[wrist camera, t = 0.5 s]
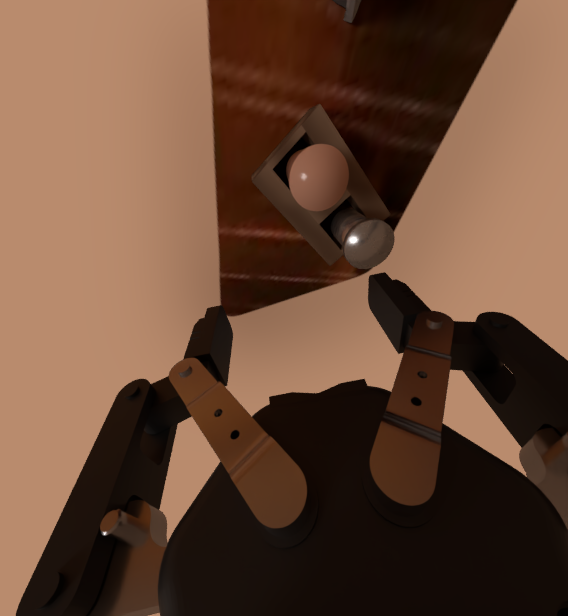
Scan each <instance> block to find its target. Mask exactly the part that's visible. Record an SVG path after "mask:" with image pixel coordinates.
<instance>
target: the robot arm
mask: <svg viewBox="0 0 568 616" xmlns="http://www.w3.org/2000/svg"><path fill="white" fill-rule="evenodd" d="M368 291H369V292H368V302H369V307H370V309H371V311H372V313H373V314H374V316H375V317H376V319H377V321H378V322H379V324H380V325H381V327H382V329H383V330H384V332H385V333H386V335H387V337H388V338H389V340H390V341H391V343H392V344H393V346H394V348H395V349H396V351H397V352H398V353H399V354H400V353H404V354H403V357H402V360H401V364H400V367H399V370H398V373H397V376H396V379H395V382H394V386H393V389H392V392H390V391H388V390H385V389H382V388H378V387H371V386H367V384H366V382H365V379H361V380H356V381H351V382H345V383H341V384H338V385H336V386H334V387H331V388H330V389H327V390H325V391H322V392H320V393H316V394H315V393H294V392H292V393H286V394H281V395H276V396H271V397H269V401H270V404H269V405H267V406H265V407H264V408H262V409H261V410H259V411H258V412H257V413H255V414H254V415H253V416H252V417H251V415H250V414H249V413H248V412H247V411H246V410H245V409H244V408H243V406H242V405H241V404H240V403H239V402H238V401H237V400H236V399H235V398H234V396H233V395H232V394H231V393H230V392H229V391H228V390H227V389H226V387H225V386H227V382H228V373H229V364H230V357H231V348H232V340H233V332H232V328H231V325H230V323H229V320H228V318H227V315H226V313H225V311H224V308H223V307H222V306H221V305H220V306H216V307H211V308H207V311H206V314H205V318H202V319H199V321H198V322H197V323H196V324H195V325H194V328H193V331H192V334H191V337H190V341H189V343H188V346H187V350H186V352H185V356H184V359H183V360H182V361H180V362H178V363H177V364H176V365H174V367H173V368H172V369H171V371H170V372H169V376H168V377H166V378H164V379H161V380H159V381H157V382H155V383H153V384H150V383H149V381H148V380H146V379H138V380H135V381H132V382H131V383H129V384H127V385H126V386H125V387H124V388H123V389H122V390H121V391H120V392H119V393H118V395H117V397H116V399H115V401H114V403H113V405H112V407H111V409H110V411H109V414H108V416H107V418H106V420H105V422H104V424H103V426H102V428H101V431H100V433H99V435H98V437H97V439H96V441H95V443H94V446H93V448H92V450H91V452H90V454H89V456H88V458H87V460H86V462H85V464H84V467H83V469H82V471H81V473H80V475H79V478H78V479H77V482H76V484H75V486H74V488H73V490H72V492H71V495H70V496H69V499H68V501H67V503H66V505H65V507H64V509H63V512H62V513H61V516H60V518H59V520H58V522H57V524H56V526H55V528H54V530H53V533H52V535H51V537H50V539H49V541H48V543H47V545H46V547H45V550H44V552H43V554H42V556H41V558H40V560H39V562H38V564H37V567H36V569H35V571H34V573H33V575H32V578H31V579H30V582H29V584H28V586H27V588H26V590H25V592H24V594H23V597H22V599H21V601H20V603H19V606H18V609H17V612H16V616H148V615H152V614H155V613H160V616H568V361H567V360H566V359H565V358H564V357H562V356H561V355H560V354H559V353H557V352H556V351H555V350H554V349H553V348H551V347H550V346H549V345H547V344H546V343H545V342H544V341H542V340H541V339H540V338H539V337H537V336H536V335H535V334H534V333H532V332H531V331H530V330H529V329H528V328H526V327H525V326H524V325H523V324H521V323H520V322H519V321H518V320H516V319H515V318H513V317H511V316H509V315H506V314H503V313H498V312H485V313H482V314H480V315H479V316H478V317H477V319H476V322H456V321H453V320H452V319H451V317H449V316H447V315H446V314H444V313H441V312H436V311H431V310H430V309H429V308H428V307H427V306H426V305H425V304H424V303H423V301H422V300H421V299H420V298H419V297H418V296H416V295H415V293H414V292H413V291H411V289H410V288H409V287H408V286H407V285H406V284H405V283H403V282H401V281H399V280H392V279H391V278H390V277H389V276H388V275H387V274H386V273H379V274H374V275H370V276H369V289H368ZM504 364H505V365H504ZM507 368H508V369H509V370H510V371H511V372H512V373H513V374H512V373H511V372H510V371H509V370H508V369H507ZM450 370H463V372H464V373H465V374H466V376H467V377H468V378H469V380H470V381H471V382H472V383H473V384H474V386H475V387H476V389H477V390H478V391H479V393H480V394H481V395H482V397H483V398H484V399H485V400H486V402H487V403H488V404H489V406H490V407H491V408H492V409H493V411H494V412H495V413H496V415H497V416H498V417H499V419H500V420H501V421H502V422H503V424H504V425H505V427H506V428H507V429H508V430H509V432H510V433H511V434H512V436H513V437H514V438H515V440H516V441H517V442H518V444H519V445H520V446H521V447H522V449H521V450H520V454H519V458H520V462H521V464H522V466H523V468H524V470H525V472H526V475H527V477H526V476H525V475H523V474H522V473H521V472H519V471H518V470H516V469H514V468H513V467H512V466H510V465H508V464H507V463H505V462H504V461H502V460H500V459H499V458H497V457H496V456H494V455H492V454H491V453H489V452H487V451H486V450H484V449H483V448H481V447H480V446H478V445H476V444H475V443H473V442H472V441H470V440H468V439H467V438H465V437H463V436H462V435H460V434H459V433H457V432H456V431H454V430H452V429H451V428H449V427H448V426H446V425H444V424H443V423H442V422H443V415H444V408H445V401H446V393H447V387H448V379H449V372H450ZM191 416H192V417H193V419H194V420H195V422H196V423H197V425H198V426H199V428H200V430H201V431H202V433H203V434H204V436H205V437H206V439H207V440H208V442H209V444H210V445H211V447H212V448H213V450H214V451H215V453H216V454H217V456H218V458H219V459H220V461H221V462H220V463H219V465H218V466H217V467H216V469H215V470H214V472H213V473H212V475H211V476H210V478H209V479H208V481H207V482H206V484H205V485H204V487H203V488H202V490H201V491H200V493H199V494H198V495H197V497H196V499H195V500H194V501H193V503H192V504H191V506H190V507H189V509H188V510H187V512H186V513H185V515H184V516H183V518H182V519H181V521H180V522H179V524H178V525H177V527H176V528H175V530H174V532H173V533H172V535H171V537H170V539H169V542H168V543H167V536H166V533H167V520H166V517H165V515H164V514H163V512H161V511H160V510H159V509H160V504H161V499H162V494H163V490H164V485H165V480H166V476H167V471H168V466H169V462H170V457H171V452H172V447H173V443H174V438H175V434H176V429H177V424H178V423H180V422H182V421H184V420H185V419H187V418H189V417H191Z"/></svg>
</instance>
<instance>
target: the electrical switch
mask: <svg viewBox="0 0 568 616" xmlns="http://www.w3.org/2000/svg"><path fill="white" fill-rule="evenodd" d="M333 1H334V2H336V3H337V4H339V5H341V6H343V7H345V8H346V13H345V16H344V21H347V22H350V23H352V21H353V20H354V17H355V15H356V13H357V10H358V7H359V5H360V2H361V0H333Z"/></svg>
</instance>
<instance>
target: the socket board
mask: <svg viewBox="0 0 568 616" xmlns="http://www.w3.org/2000/svg"><path fill="white" fill-rule="evenodd" d="M301 137H302V138H303V140H304V141H305V142H306V144H307V145H308V146H311V145H314V144H327V145H331V146H333V147H335V148H336V149H338V150H339V151H340V152H341V153H342V154H343V156H344V157H345V159H346V162H347V165H348V170H349V179H348V185H347V188H346V190H345V192H344V194H343V196H342V197H341V199H340V200H339V201H338V202H337V203H336V204H335V205H333V206H332V207H330V208H328V209H326V210H323V211H310V210H307V209H305V208H303V207H302V206H301V205H299V204H298V203H297V201H296V200H295V199H294V197H293V195H292V193H291V191H290V189H289V188H288V187H287V186H286V184H285V183H284V182H283V181H282V180H281V179H280V177H279V176H278V175H277V174H276V173H275V171H274V170H273V168H274V167H275V166H276V165H277V164H278V162H279V161H280V160H281V159H282V158H283V157H284V156H285V155H286V154H287V152H288V151H289V150H290V149H291V148H292V147H293V146H294V145H295V143H296V142H297V141H298V140H299V139H300V138H301ZM252 182H253V183H254V184H255V185H256V187H257V188H258V189H259V190H260V191H261V192H262V193H263V194H264V195H265V196H266V197H267V198H268V199H269V201H270V202H271V203H272V204H273V205H274V206H275V207H276V208H277V209H278V210H279V211H280V212H281V214H282V215H283V216H284V217H285V218H286V219H287V220H288V221H289V222H290V223H291V224H292V225H293V226H294V228H295V229H296V230H297V231H298V232H299V233H300V234H301V235H302V236H303V237H304V238H305V239H306V240H307V242H308V243H309V244H310V245H311V246H312V247H313V248H314V249H315V250H316V251H317V252H318V253H319V255H320V256H321V257H322V258H323V259H324V260H325V261H326V262H327V263H328V264H329V265H330V266H331V265H332V264H333V263H334V262H335V261H336V260H338V259H339V258H340V257H341V256H342V255H344V254H343V246H342V245H341V244H340V242H339V241H338V240H337V239H336V238H335V237H334V236H333V237H332V238H331V237H330V236H329V235H328V234H327V233H326V231H325V230H324V229H323V228H322V227H321V226H320V223H321V222H322V221H323V220H324V219H325V218H326V217H327V216H328V215H329V214H331V213H332V212H333V211H334V210H335V209H336V208H337V207H338V206H339V205H340V204H341V203H342V202H343V201H344V200H346V199H347V200H348V202H349V203H350V204H351V206H352V207H353V209H354V210H356V211H357V212H359V213H360V214H362V215H363V216H365V217H366V218H376V219H380V220H382V221H384V220H385V219H386V218H387V217H388V216H390V215H391V214H390V213H389V211H388V209H387V208H386V206H385V205H384V203H383V202H382V200H381V198H380V197H379V195H378V194H377V192H376V191H375V189H374V187H373V186H372V184H371V183H370V181H369V180H368V178H367V177H366V175H365V173H364V172H363V170H362V169H361V167H360V166H359V164H358V162H357V161H356V159H355V158H354V156H353V155H352V153H351V151H350V150H349V148H348V147H347V145H346V144H345V142H344V140H343V139H342V137H341V136H340V134H339V133H338V131H337V129H336V128H335V126H334V125H333V123H332V122H331V120H330V119H329V117H328V115H327V114H326V112H325V111H324V109H323V108H322V106H321V104H319V105H317V106H315V107H313V108H310V109H309V111H308V112H307V113H306V114H305V115H304V116H303V117H302V119H301V120H300V121H299V122H298V123H297V124H296V125H295V127H294V128H293V129H292V130H291V131H290V132H289V134H288V135H287V136H286V137H285V138H284V139H283V140H282V142H281V143H280V144H279V145H278V146H277V147H276V148H275V150H274V151H273V152H272V153H271V154H270V155H269V157H268V158H267V159H266V160H265V161H264V162H263V163H262V165H261V166H260V167H259V168H258V169H257V170H256V171H255V173H254V174H253V175H252Z"/></svg>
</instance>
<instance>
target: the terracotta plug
mask: <svg viewBox="0 0 568 616" xmlns="http://www.w3.org/2000/svg"><path fill="white" fill-rule="evenodd" d="M286 175H287V179H288V181H289V187H290V191H291V193H292V195H293V197H294V199H295V200H296V201H297V203H298V204H299V205H301V206H302V207H303V208H305V209H307V210H310V211H323V210H326V209H328V208H330V207H332V206H333V205H335V204H336V203H337V202H338V201H339V200H340V199H341V197H342V196H343V194H344V192H345V190H346V188H347V185H348V179H349V170H348V165H347V162H346V159H345V157H344V156H343V154H342V153H341V152H340V151H339V150H338V149H336V148H335V147H333V146H331V145H327V144H314V145H311V146H308V147H307V148H305V149H302V150H299V151H297V152H295V153H294V154H293V155H292V156H291V157H290V159H289V160H288V163H287V167H286Z"/></svg>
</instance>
